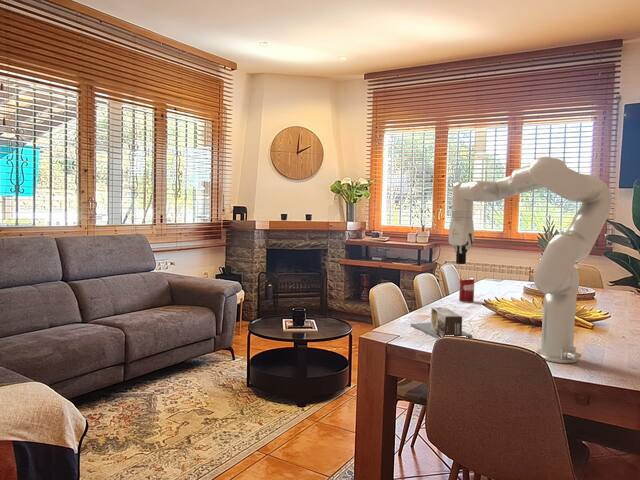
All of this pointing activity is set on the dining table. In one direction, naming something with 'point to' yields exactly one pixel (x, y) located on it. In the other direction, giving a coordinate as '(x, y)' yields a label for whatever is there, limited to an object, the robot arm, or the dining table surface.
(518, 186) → the robot arm
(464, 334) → the mat
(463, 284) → the soda can
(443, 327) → the coffee box
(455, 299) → the dining table surface
